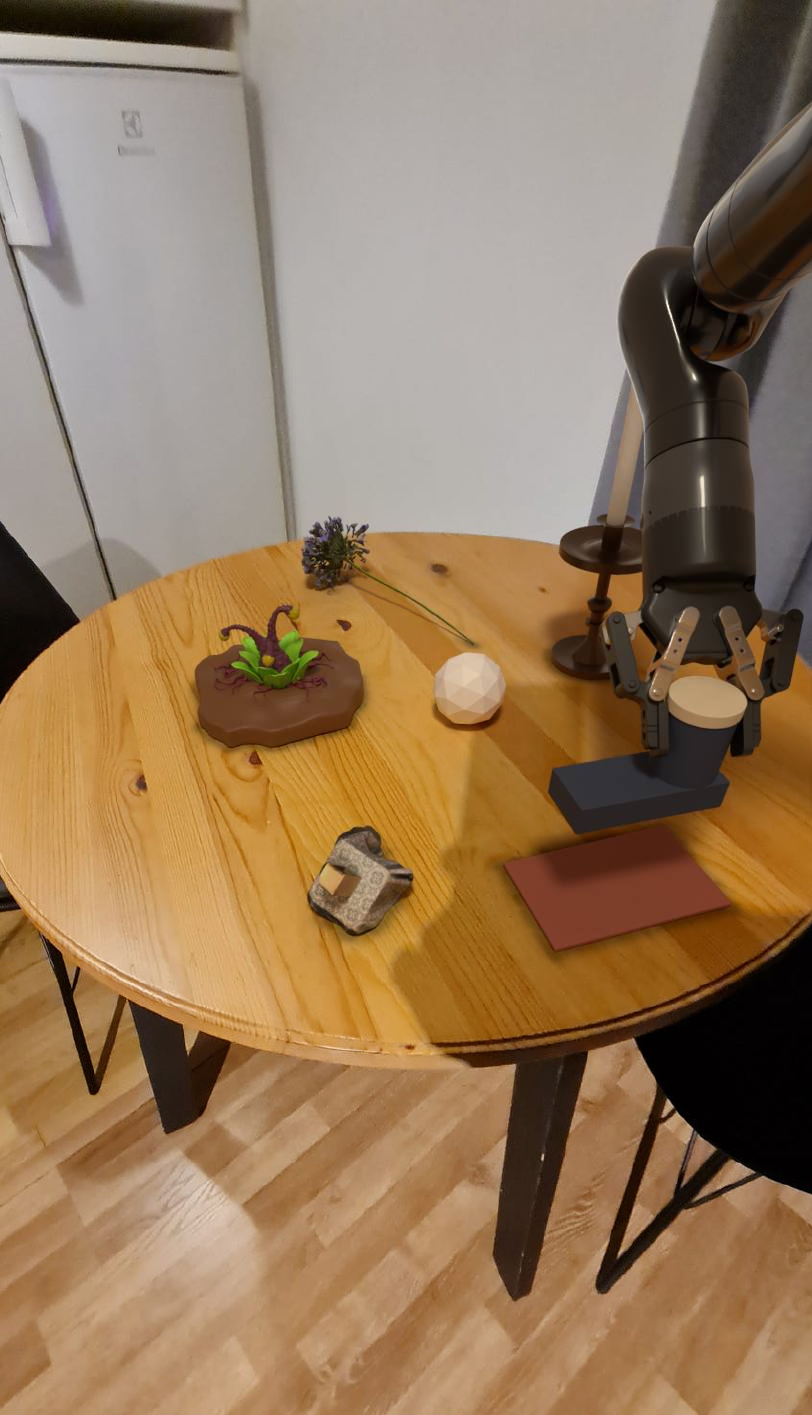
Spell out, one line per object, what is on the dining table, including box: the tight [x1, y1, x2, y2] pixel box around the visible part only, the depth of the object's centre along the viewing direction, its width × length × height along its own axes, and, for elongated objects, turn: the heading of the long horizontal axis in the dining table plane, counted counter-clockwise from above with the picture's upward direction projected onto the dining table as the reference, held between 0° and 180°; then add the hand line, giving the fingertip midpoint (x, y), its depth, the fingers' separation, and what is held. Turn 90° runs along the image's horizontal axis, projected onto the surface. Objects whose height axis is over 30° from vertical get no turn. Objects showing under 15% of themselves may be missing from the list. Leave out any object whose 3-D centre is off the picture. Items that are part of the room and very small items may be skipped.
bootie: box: [547, 675, 747, 836], centre depth 55 cm, size 12×5×9 cm, turn 103°
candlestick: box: [550, 384, 644, 681], centre depth 80 cm, size 11×11×35 cm
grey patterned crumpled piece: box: [306, 824, 415, 935], centre depth 64 cm, size 8×7×12 cm
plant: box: [194, 604, 364, 748], centre depth 85 cm, size 20×20×11 cm
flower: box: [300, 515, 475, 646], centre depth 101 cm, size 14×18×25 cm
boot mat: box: [502, 824, 733, 953], centre depth 64 cm, size 16×10×1 cm, turn 106°
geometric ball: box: [432, 651, 507, 725], centre depth 81 cm, size 8×8×8 cm
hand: (700, 755), depth 54 cm, fingers closed on bootie, 5 cm apart
